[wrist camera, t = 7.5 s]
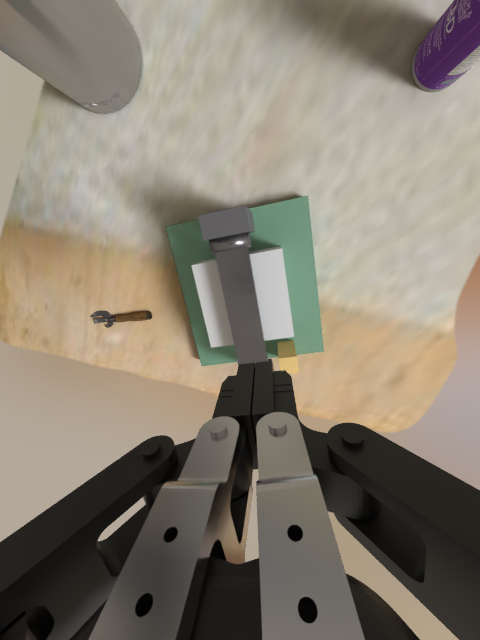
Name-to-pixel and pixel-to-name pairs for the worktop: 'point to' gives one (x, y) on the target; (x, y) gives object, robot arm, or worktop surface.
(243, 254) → the strap
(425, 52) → the container
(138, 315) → the can opener
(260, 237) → the cpu board
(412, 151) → the worktop surface
